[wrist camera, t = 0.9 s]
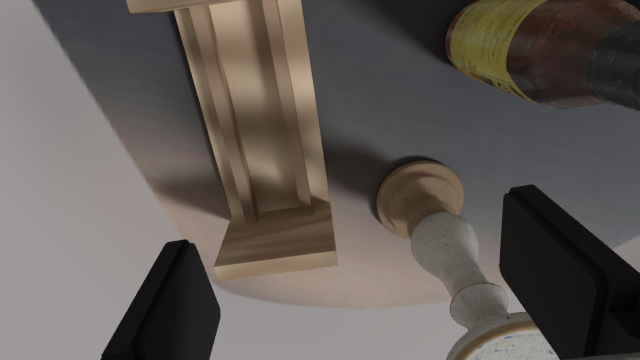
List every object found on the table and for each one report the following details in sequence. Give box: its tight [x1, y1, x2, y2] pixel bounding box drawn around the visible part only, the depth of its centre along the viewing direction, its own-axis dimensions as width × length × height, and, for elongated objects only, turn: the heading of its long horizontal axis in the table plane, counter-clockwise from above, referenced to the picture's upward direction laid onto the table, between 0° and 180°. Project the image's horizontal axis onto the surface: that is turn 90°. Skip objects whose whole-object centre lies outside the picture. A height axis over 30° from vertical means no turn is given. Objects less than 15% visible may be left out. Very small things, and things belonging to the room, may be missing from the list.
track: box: [126, 0, 338, 281], centre depth 30 cm, size 22×10×9 cm, turn 8°
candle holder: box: [376, 160, 560, 360], centre depth 29 cm, size 9×9×20 cm
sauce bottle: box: [445, 0, 640, 111], centre depth 23 cm, size 7×6×20 cm
